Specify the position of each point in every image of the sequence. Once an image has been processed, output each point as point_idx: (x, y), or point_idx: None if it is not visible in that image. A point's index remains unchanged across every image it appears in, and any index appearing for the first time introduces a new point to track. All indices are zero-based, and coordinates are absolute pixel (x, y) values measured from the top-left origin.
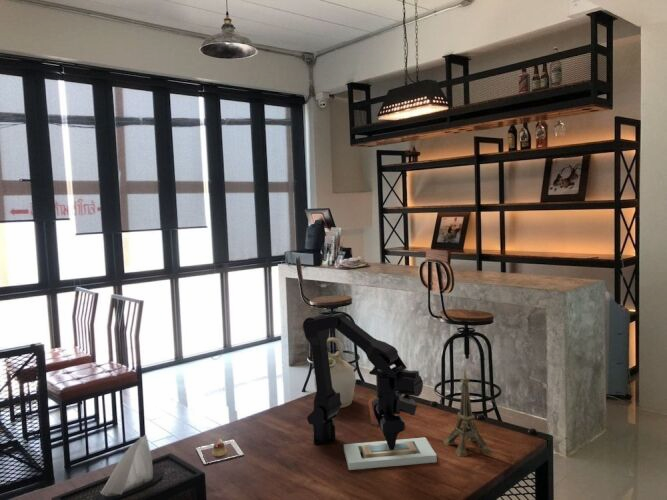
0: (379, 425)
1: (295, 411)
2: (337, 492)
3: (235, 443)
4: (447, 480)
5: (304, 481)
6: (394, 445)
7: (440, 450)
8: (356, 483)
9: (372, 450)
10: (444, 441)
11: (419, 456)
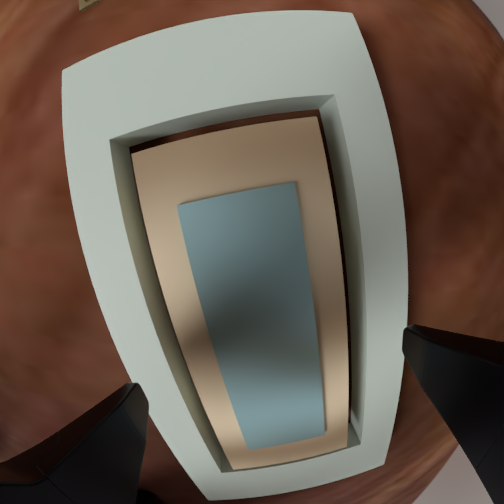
0: (135, 496)
1: None
2: None
3: None
4: (474, 61)
5: (394, 490)
6: (447, 334)
7: (180, 3)
8: None
9: (314, 432)
10: (86, 2)
11: (382, 115)
